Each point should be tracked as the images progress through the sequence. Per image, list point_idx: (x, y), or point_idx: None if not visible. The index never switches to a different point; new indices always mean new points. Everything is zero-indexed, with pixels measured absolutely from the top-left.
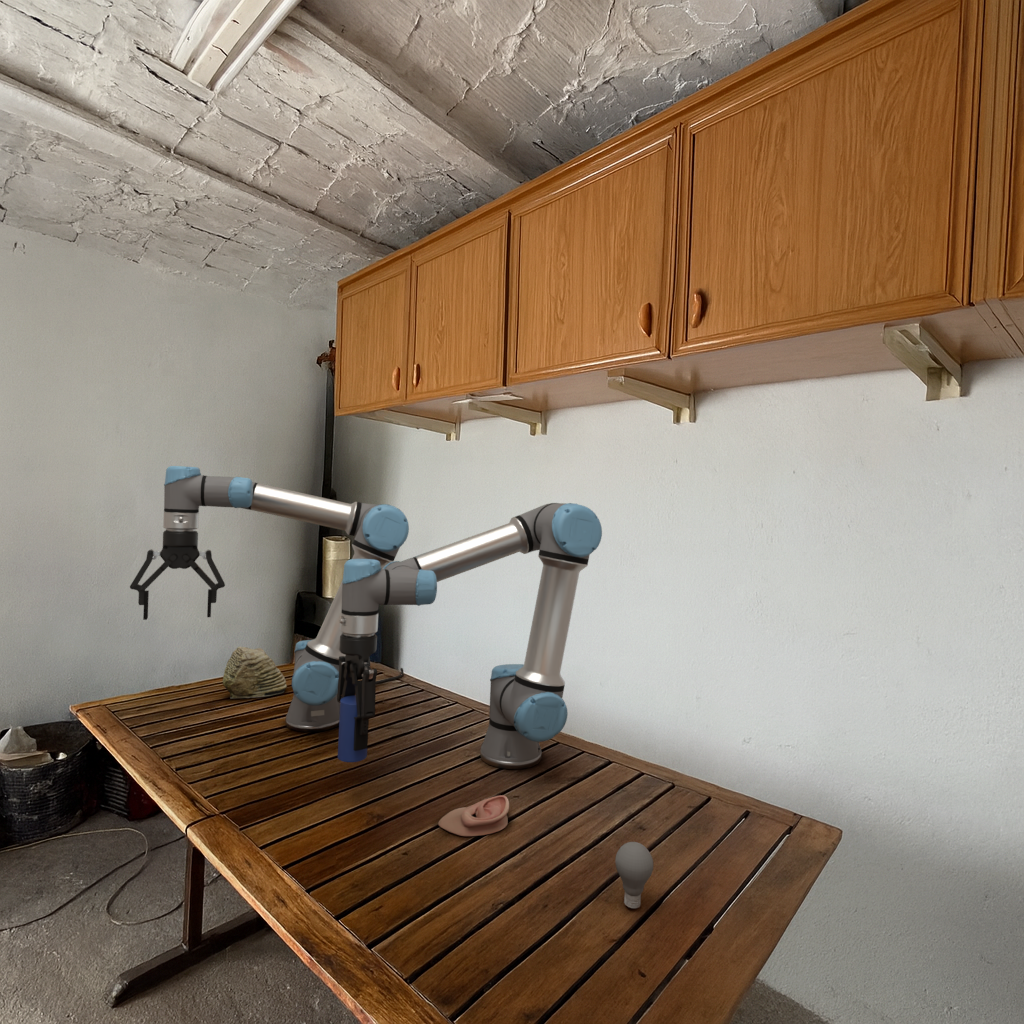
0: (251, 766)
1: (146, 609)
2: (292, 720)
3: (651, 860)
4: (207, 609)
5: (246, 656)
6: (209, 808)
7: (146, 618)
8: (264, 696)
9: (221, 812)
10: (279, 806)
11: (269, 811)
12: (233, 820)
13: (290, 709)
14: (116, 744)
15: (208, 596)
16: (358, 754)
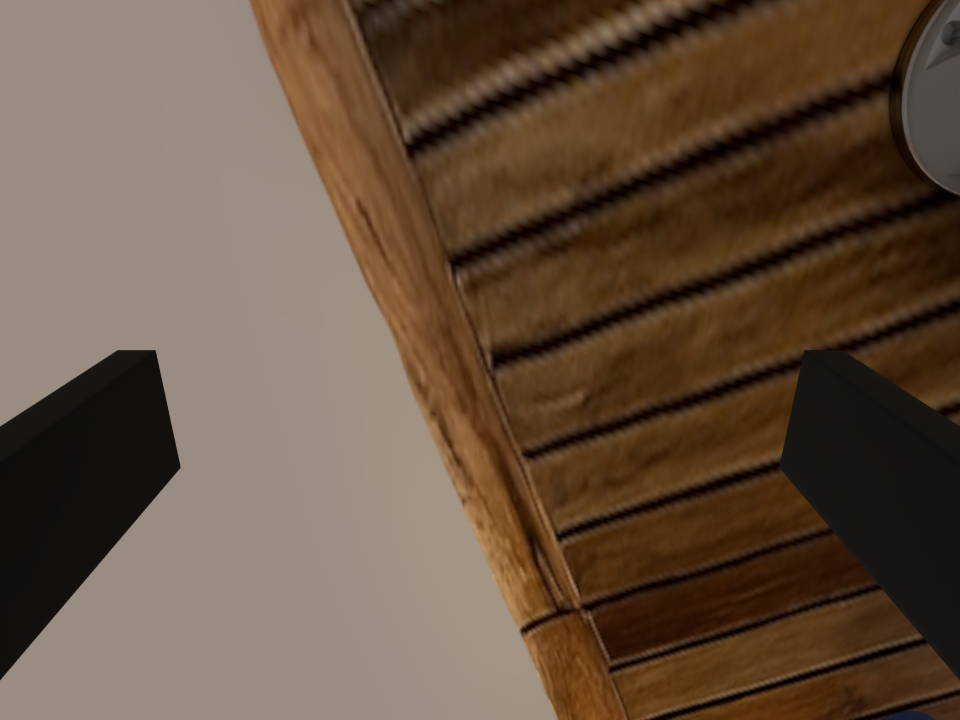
0: (686, 407)
1: (109, 542)
2: (921, 138)
3: None
4: (838, 430)
5: None
6: (562, 584)
7: (169, 474)
8: None
9: (584, 605)
10: (697, 618)
11: (674, 629)
12: (602, 639)
13: (954, 90)
14: (285, 69)
15: (958, 668)
16: None
